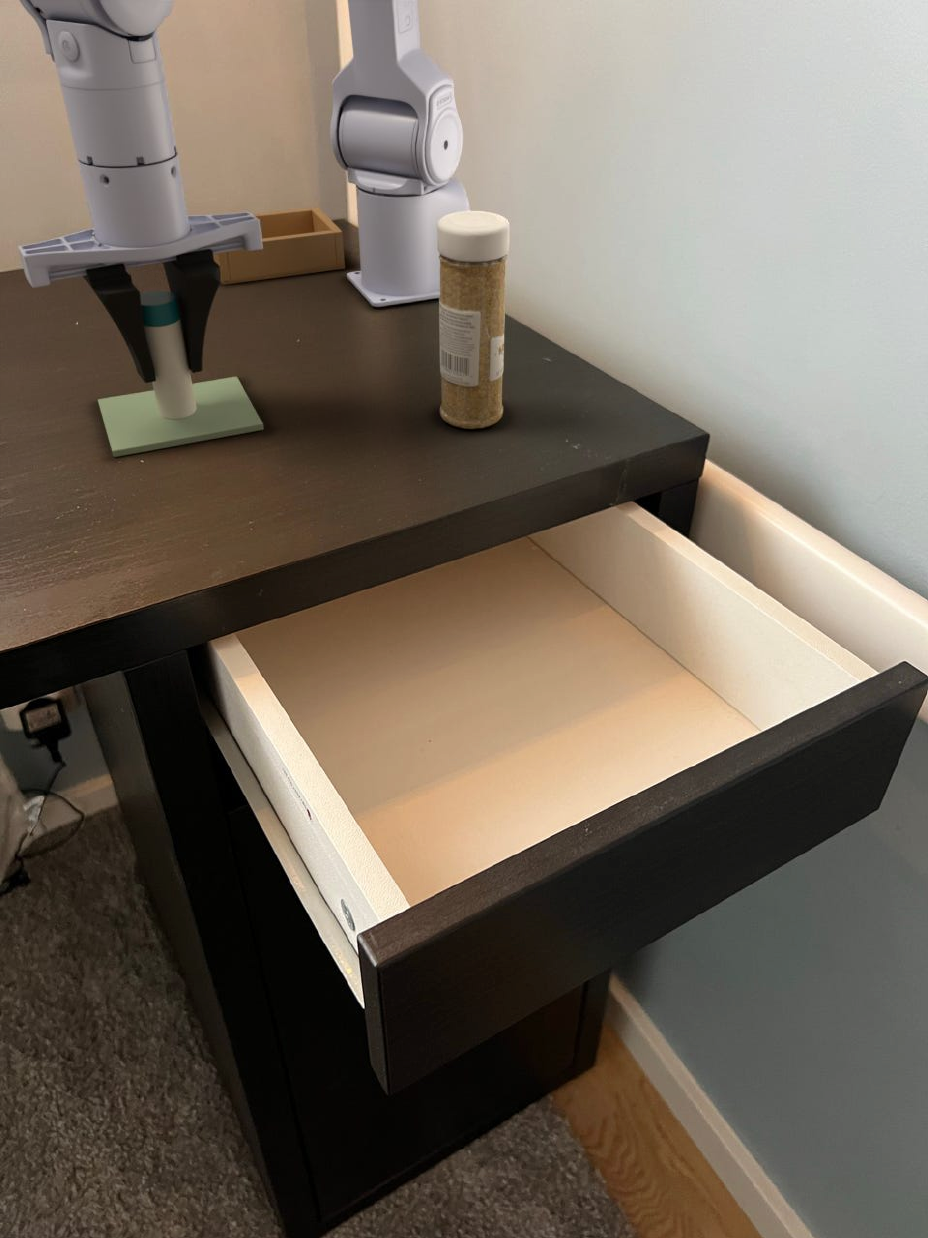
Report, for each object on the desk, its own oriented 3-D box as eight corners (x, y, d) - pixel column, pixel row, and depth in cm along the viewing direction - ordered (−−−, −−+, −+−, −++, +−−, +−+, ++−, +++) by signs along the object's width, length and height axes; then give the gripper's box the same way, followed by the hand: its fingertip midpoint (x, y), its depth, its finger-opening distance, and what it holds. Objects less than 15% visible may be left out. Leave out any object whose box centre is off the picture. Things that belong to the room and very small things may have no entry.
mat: (237, 382, 72) (236, 375, 71) (263, 429, 66) (262, 423, 66) (99, 405, 69) (97, 398, 68) (113, 457, 63) (112, 450, 63)
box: (320, 241, 96) (317, 206, 94) (345, 268, 91) (342, 231, 88) (204, 256, 93) (198, 219, 91) (222, 284, 87) (216, 246, 85)
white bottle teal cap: (190, 398, 69) (169, 287, 63) (202, 414, 67) (182, 300, 62) (153, 407, 67) (128, 294, 62) (164, 423, 66) (140, 308, 61)
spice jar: (515, 420, 67) (525, 222, 59) (461, 437, 65) (463, 235, 57) (478, 395, 70) (483, 203, 62) (426, 411, 68) (422, 215, 60)
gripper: (223, 127, 62) (250, 330, 71) (-15, 154, 56) (47, 371, 65) (263, 151, 57) (287, 365, 66) (8, 184, 52) (71, 414, 60)
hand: (170, 371), depth 65 cm, fingers closed on white bottle teal cap, 3 cm apart
